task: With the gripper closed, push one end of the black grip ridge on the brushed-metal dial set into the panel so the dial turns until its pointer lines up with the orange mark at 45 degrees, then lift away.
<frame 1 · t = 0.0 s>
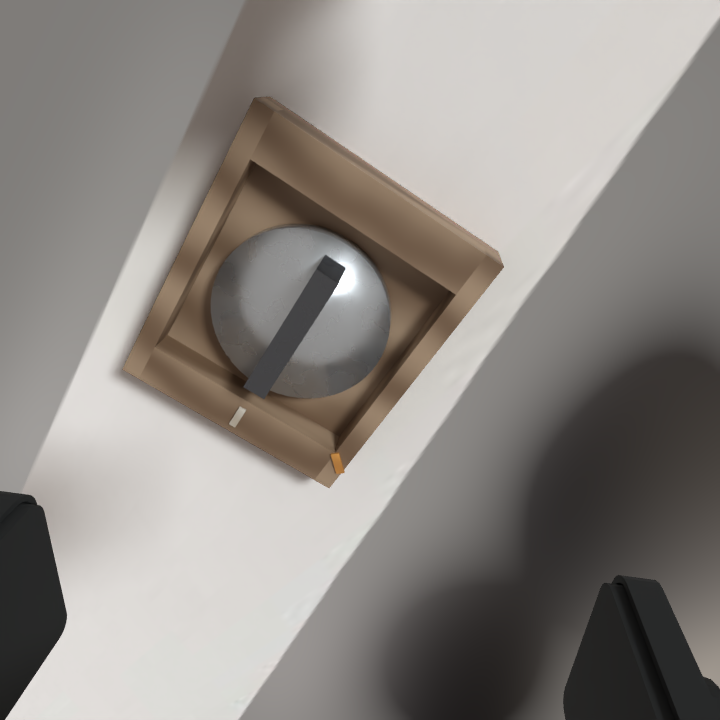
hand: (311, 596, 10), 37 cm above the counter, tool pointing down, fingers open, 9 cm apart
dial panel: (307, 304, 47), on the counter
dial: (296, 324, 43), point 4 cm above the counter, hinge at 0.0°
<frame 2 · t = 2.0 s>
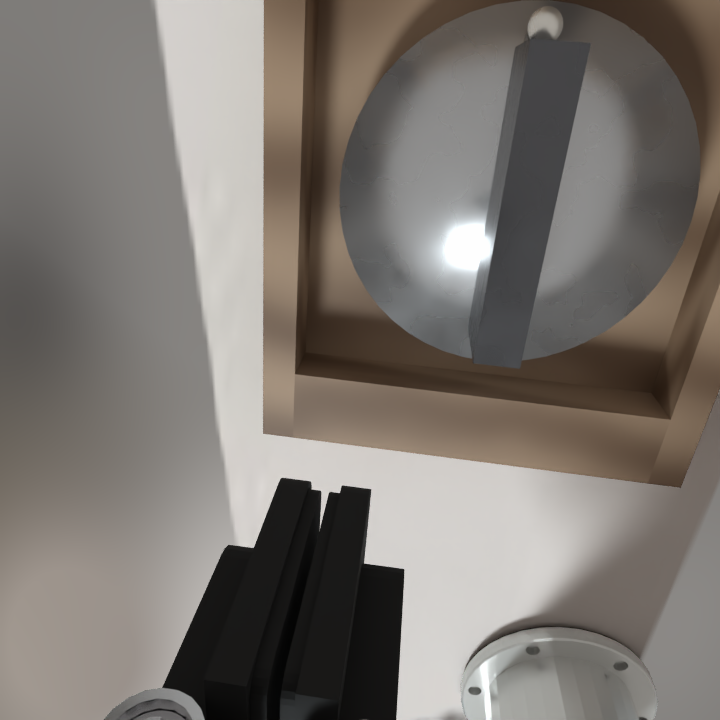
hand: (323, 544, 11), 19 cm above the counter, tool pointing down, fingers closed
dial panel: (502, 191, 26), on the counter
dial: (515, 208, 22), point 4 cm above the counter, hinge at 0.0°
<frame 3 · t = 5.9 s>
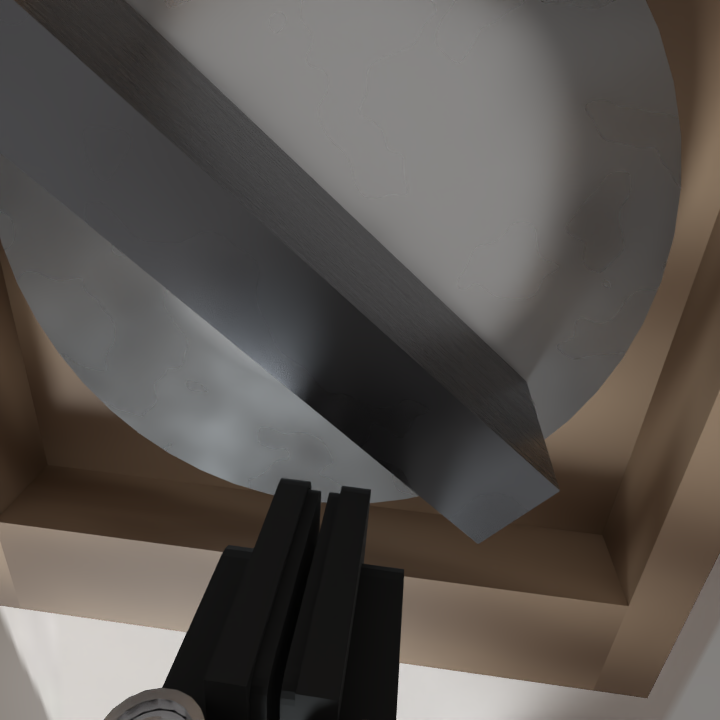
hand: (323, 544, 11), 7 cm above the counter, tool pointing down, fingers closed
dial panel: (337, 205, 15), on the counter
dial: (305, 256, 11), point 4 cm above the counter, hinge at 51.4°
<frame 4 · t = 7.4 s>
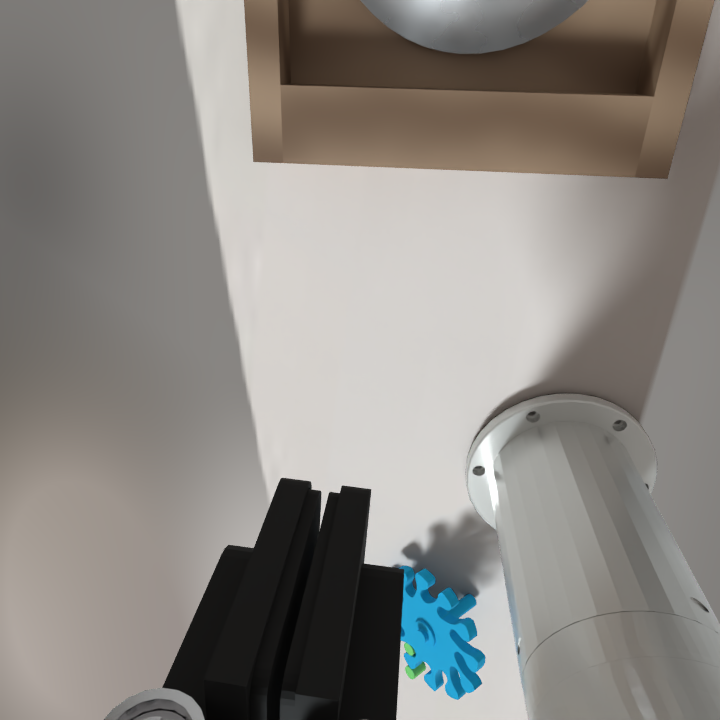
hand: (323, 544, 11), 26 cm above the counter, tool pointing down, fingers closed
gear: (427, 592, 47), on the counter
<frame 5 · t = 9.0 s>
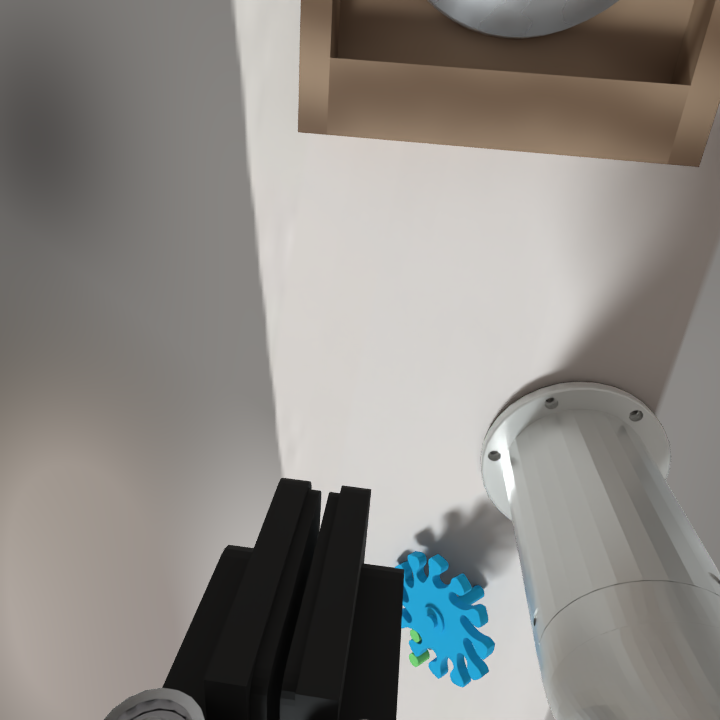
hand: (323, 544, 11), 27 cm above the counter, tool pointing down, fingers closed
gear: (436, 581, 48), on the counter
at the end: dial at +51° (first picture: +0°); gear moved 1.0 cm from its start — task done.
